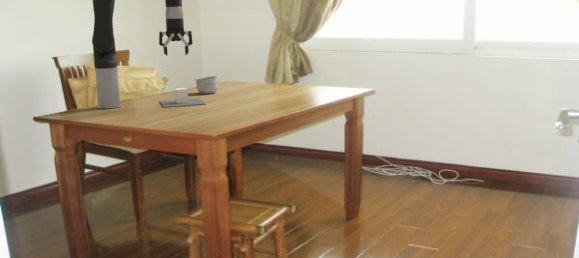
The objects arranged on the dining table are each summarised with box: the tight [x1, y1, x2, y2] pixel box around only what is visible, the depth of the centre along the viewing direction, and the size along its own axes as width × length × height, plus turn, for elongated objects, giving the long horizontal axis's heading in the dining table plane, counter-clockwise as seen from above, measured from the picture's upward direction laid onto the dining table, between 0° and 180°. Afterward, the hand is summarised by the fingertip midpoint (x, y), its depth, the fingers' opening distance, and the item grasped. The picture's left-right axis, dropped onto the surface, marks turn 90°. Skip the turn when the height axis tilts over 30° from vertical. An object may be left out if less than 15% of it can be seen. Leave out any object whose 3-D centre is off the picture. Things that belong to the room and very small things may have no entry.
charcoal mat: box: [159, 97, 206, 108], centre depth 267 cm, size 18×18×1 cm
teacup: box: [194, 75, 219, 95], centre depth 297 cm, size 14×11×8 cm
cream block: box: [174, 87, 189, 103], centre depth 266 cm, size 5×5×6 cm
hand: (176, 55), depth 264 cm, fingers open, 8 cm apart
